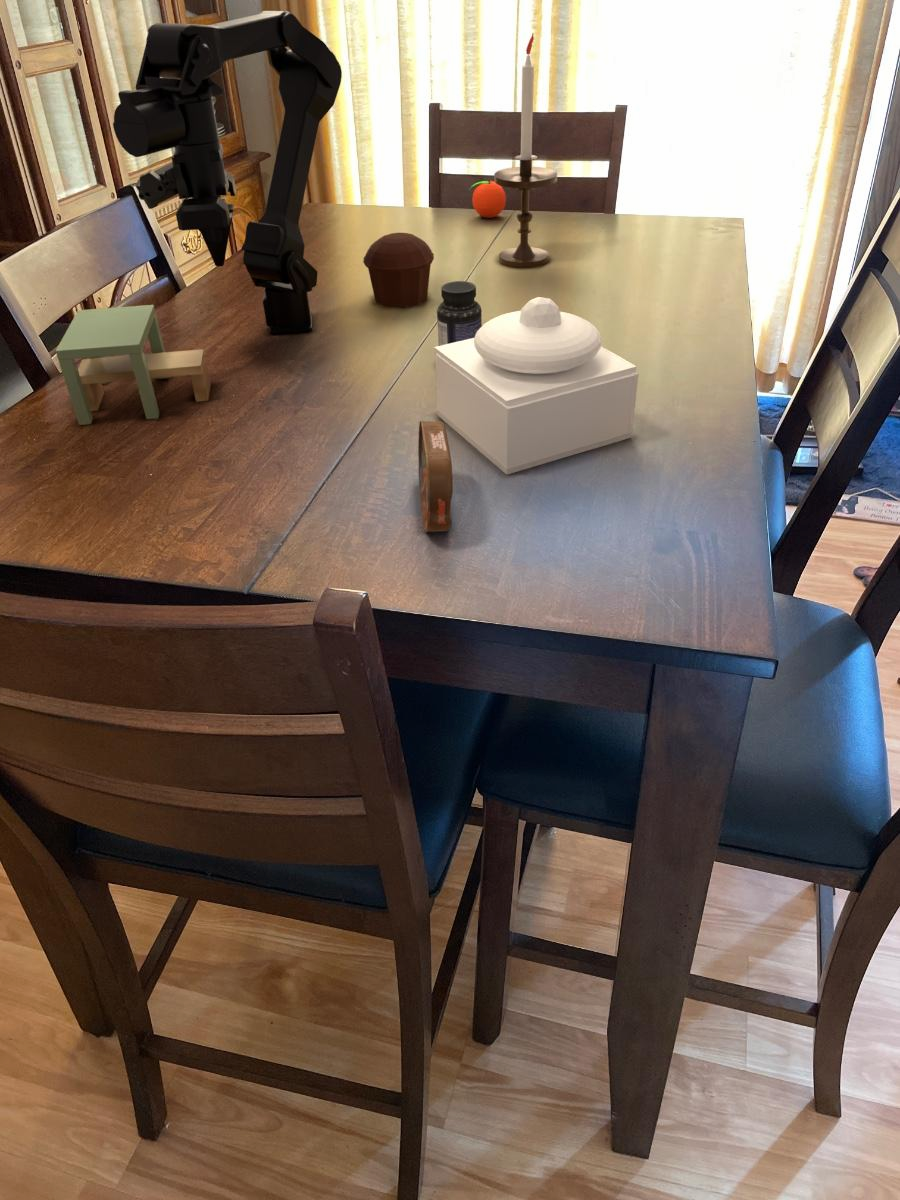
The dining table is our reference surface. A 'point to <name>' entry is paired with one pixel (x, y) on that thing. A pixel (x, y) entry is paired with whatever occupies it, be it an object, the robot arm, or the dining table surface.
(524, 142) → the candlestick
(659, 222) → the dining table surface
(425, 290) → the muffin
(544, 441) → the white lidded box
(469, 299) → the pill bottle
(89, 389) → the bench
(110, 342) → the side table
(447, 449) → the tin
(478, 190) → the clementine
